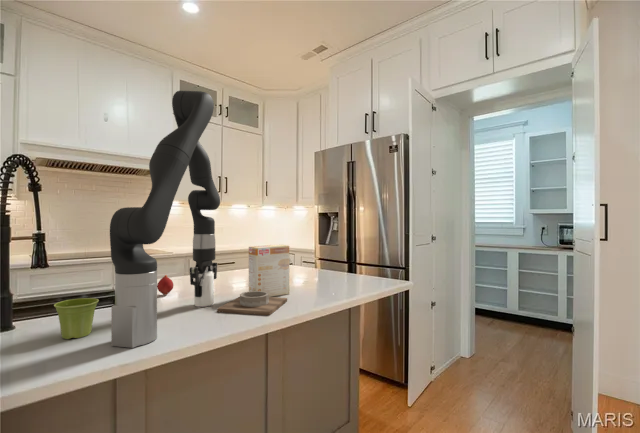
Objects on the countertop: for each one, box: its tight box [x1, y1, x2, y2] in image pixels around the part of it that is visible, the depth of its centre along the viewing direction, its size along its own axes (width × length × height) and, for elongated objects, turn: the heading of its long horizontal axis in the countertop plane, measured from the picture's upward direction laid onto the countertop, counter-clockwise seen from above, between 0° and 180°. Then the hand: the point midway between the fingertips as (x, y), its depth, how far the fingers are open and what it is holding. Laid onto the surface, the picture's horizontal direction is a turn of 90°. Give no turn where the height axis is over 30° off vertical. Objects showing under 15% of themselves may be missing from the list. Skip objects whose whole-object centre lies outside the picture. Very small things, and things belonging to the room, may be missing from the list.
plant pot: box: [53, 297, 100, 340], centre depth 87 cm, size 9×9×9 cm
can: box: [193, 270, 215, 308], centre depth 117 cm, size 6×6×12 cm
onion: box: [157, 274, 174, 296], centre depth 131 cm, size 6×6×8 cm
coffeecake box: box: [248, 244, 290, 297], centre depth 132 cm, size 15×7×20 cm, turn 126°
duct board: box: [216, 290, 288, 316], centre depth 115 cm, size 18×18×4 cm
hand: (204, 294), depth 116 cm, fingers closed on can, 6 cm apart
